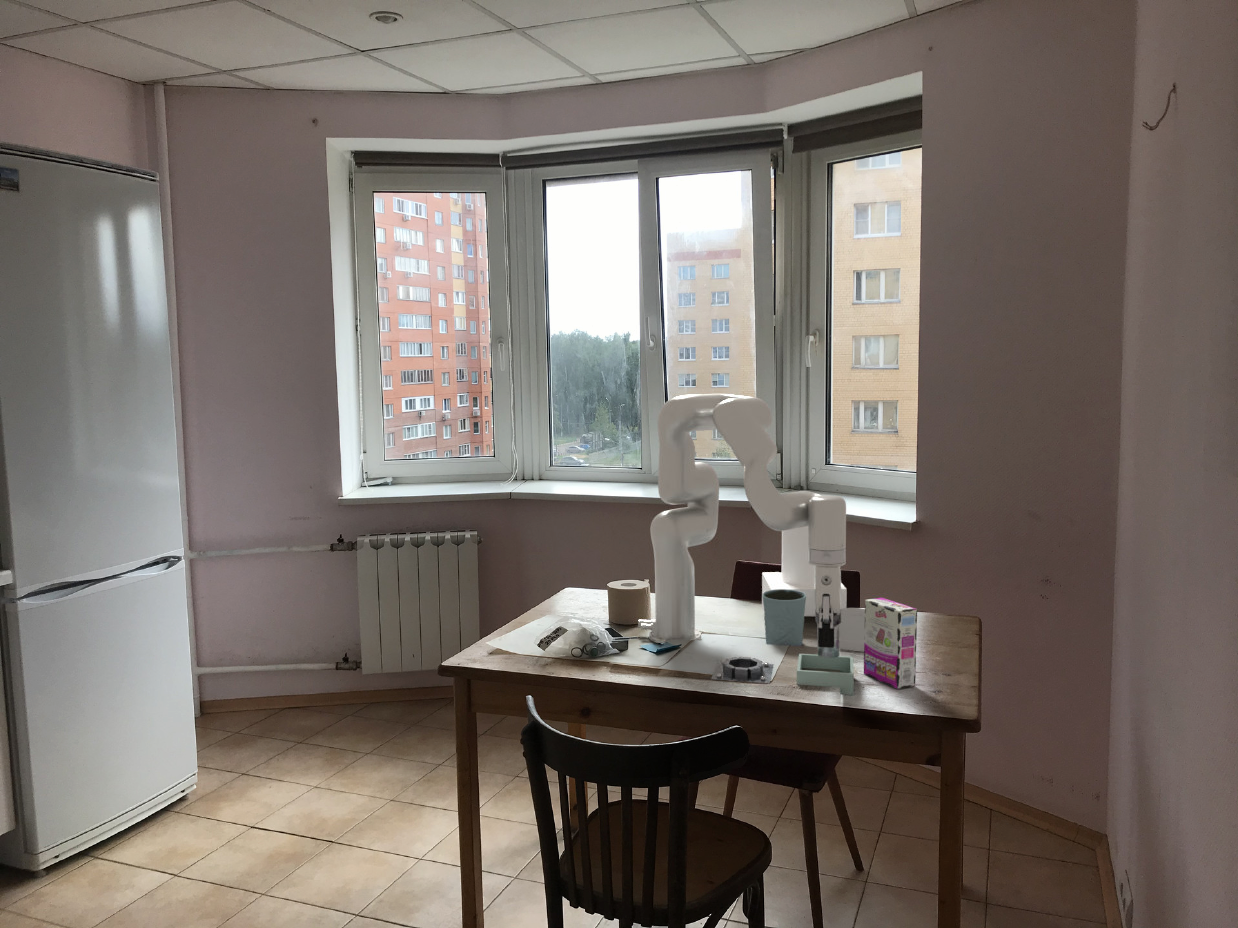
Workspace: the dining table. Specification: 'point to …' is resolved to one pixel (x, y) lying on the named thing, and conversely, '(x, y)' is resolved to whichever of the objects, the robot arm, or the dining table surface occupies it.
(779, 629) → the teal cup
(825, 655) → the clear and grey cylinder
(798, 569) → the paper towel holder
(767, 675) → the stud mount
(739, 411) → the robot arm
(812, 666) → the parts bin
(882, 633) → the candy bar box
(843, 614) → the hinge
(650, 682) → the dining table surface
